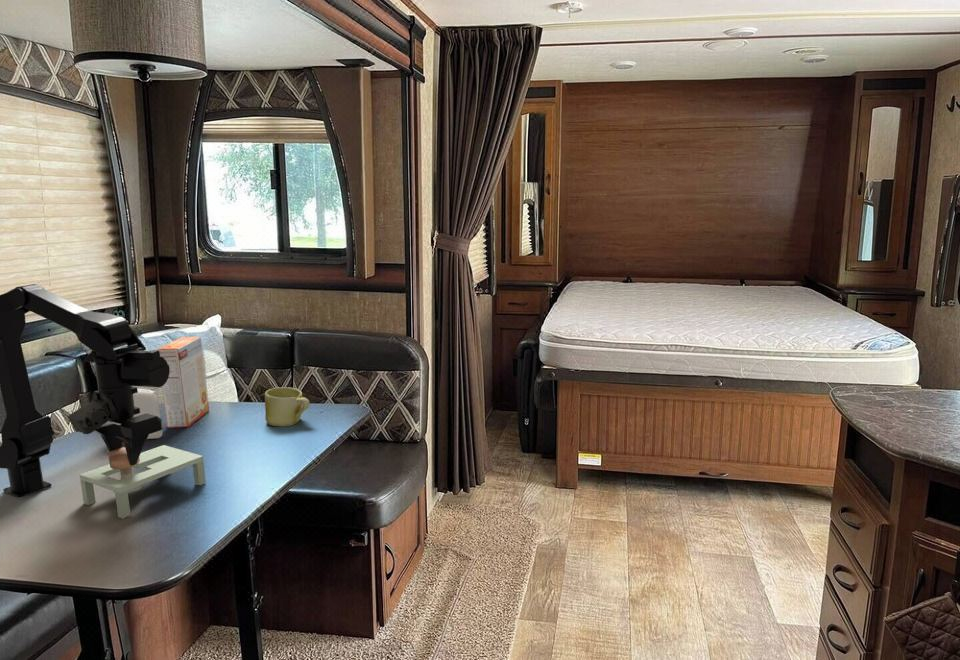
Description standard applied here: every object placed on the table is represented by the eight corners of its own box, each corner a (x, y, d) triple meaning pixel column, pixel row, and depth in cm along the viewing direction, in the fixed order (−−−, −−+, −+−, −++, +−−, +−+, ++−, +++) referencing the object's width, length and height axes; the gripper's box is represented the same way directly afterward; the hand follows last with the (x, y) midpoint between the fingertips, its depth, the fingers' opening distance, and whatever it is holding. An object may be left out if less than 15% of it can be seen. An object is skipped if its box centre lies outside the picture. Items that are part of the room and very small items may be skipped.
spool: (107, 490, 138) (102, 453, 137) (132, 480, 142) (128, 445, 141) (123, 495, 135) (118, 458, 134) (148, 485, 140) (143, 449, 138)
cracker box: (188, 411, 195) (180, 336, 191) (210, 410, 195) (202, 336, 191) (164, 428, 181) (155, 348, 177) (188, 428, 181) (179, 347, 177)
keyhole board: (83, 503, 138) (79, 474, 137) (166, 471, 153) (163, 445, 152) (122, 518, 131) (118, 488, 130) (205, 483, 146) (202, 456, 145)
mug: (249, 417, 182) (261, 380, 182) (280, 418, 191) (292, 383, 190) (278, 435, 175) (291, 397, 175) (310, 436, 184) (321, 399, 183)
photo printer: (115, 442, 172) (108, 393, 170) (122, 436, 176) (115, 388, 174) (159, 439, 173) (153, 390, 170) (165, 433, 177) (159, 386, 175)
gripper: (44, 388, 133) (56, 467, 136) (101, 402, 123) (112, 487, 126) (102, 374, 142) (112, 448, 145) (159, 386, 132) (168, 465, 136)
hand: (124, 462), depth 138 cm, fingers closed on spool, 5 cm apart
